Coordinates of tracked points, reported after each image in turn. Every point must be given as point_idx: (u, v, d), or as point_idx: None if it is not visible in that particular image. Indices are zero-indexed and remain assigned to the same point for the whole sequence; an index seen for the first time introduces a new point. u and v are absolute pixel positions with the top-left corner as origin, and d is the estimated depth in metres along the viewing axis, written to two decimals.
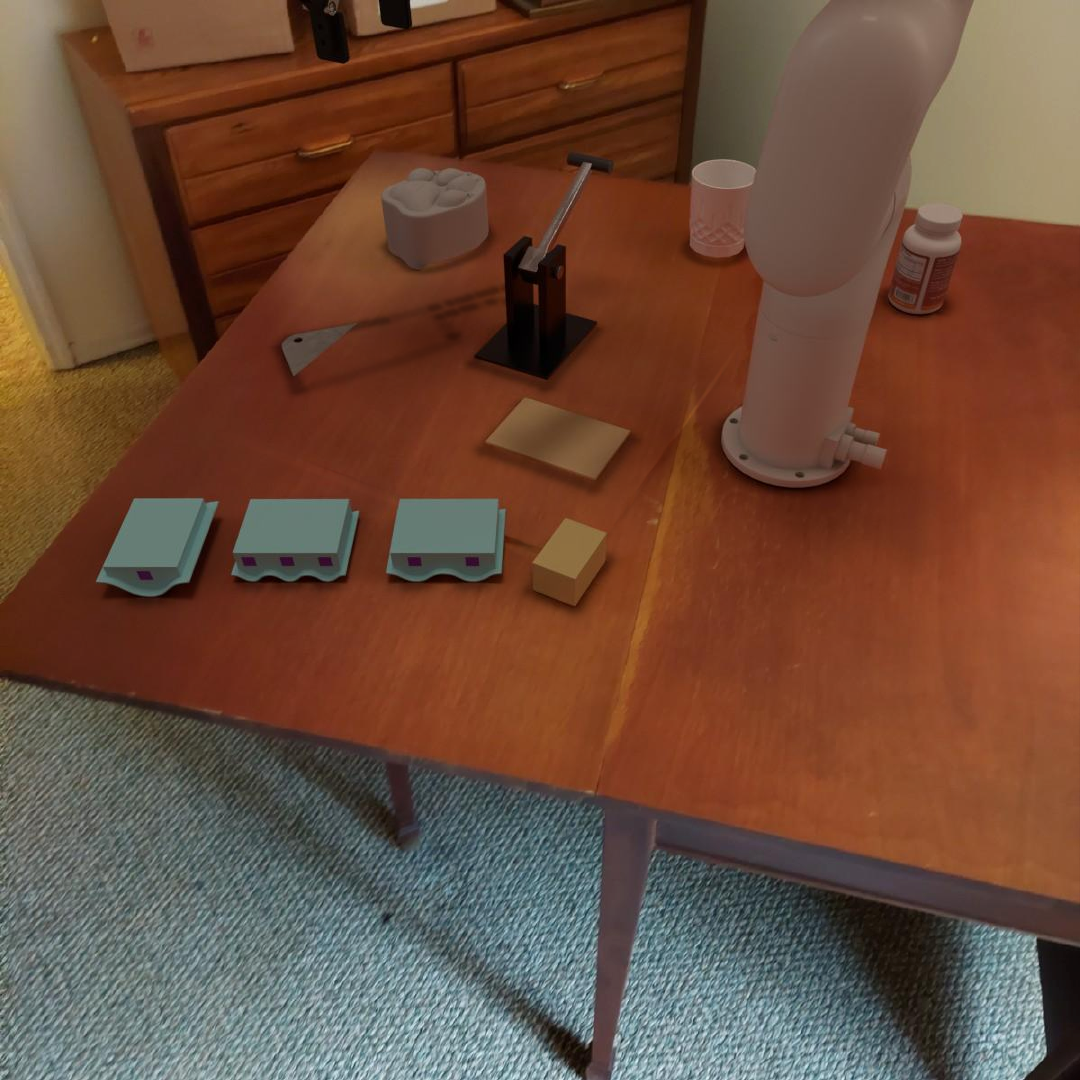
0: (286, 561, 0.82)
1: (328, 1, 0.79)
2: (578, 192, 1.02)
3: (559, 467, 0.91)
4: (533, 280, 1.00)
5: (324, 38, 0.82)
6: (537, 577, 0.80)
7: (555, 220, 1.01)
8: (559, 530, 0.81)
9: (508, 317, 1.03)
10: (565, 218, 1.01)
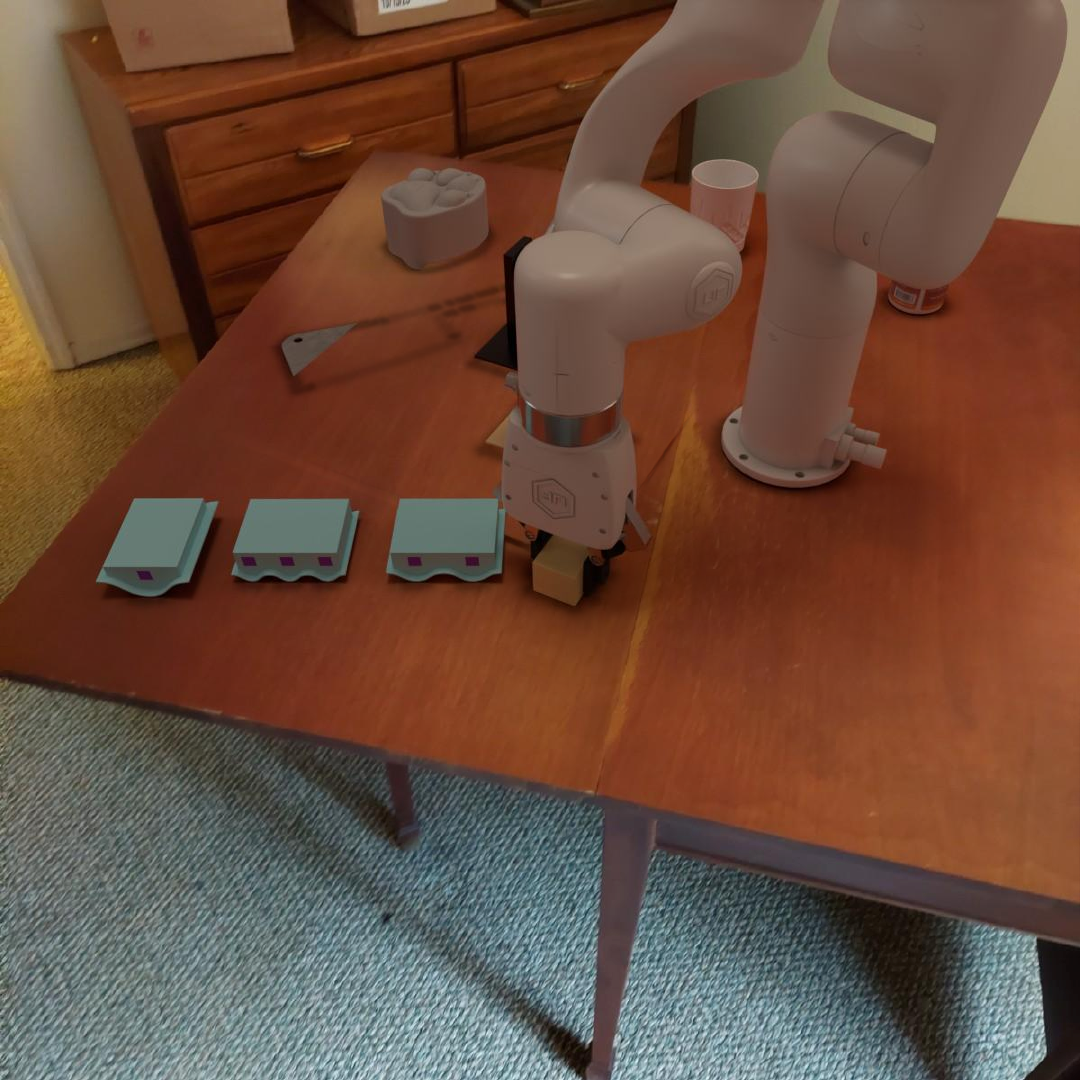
0: (286, 561, 0.82)
1: (524, 530, 0.79)
2: None
3: None
4: None
5: None
6: (537, 577, 0.80)
7: None
8: None
9: (508, 317, 1.03)
10: None
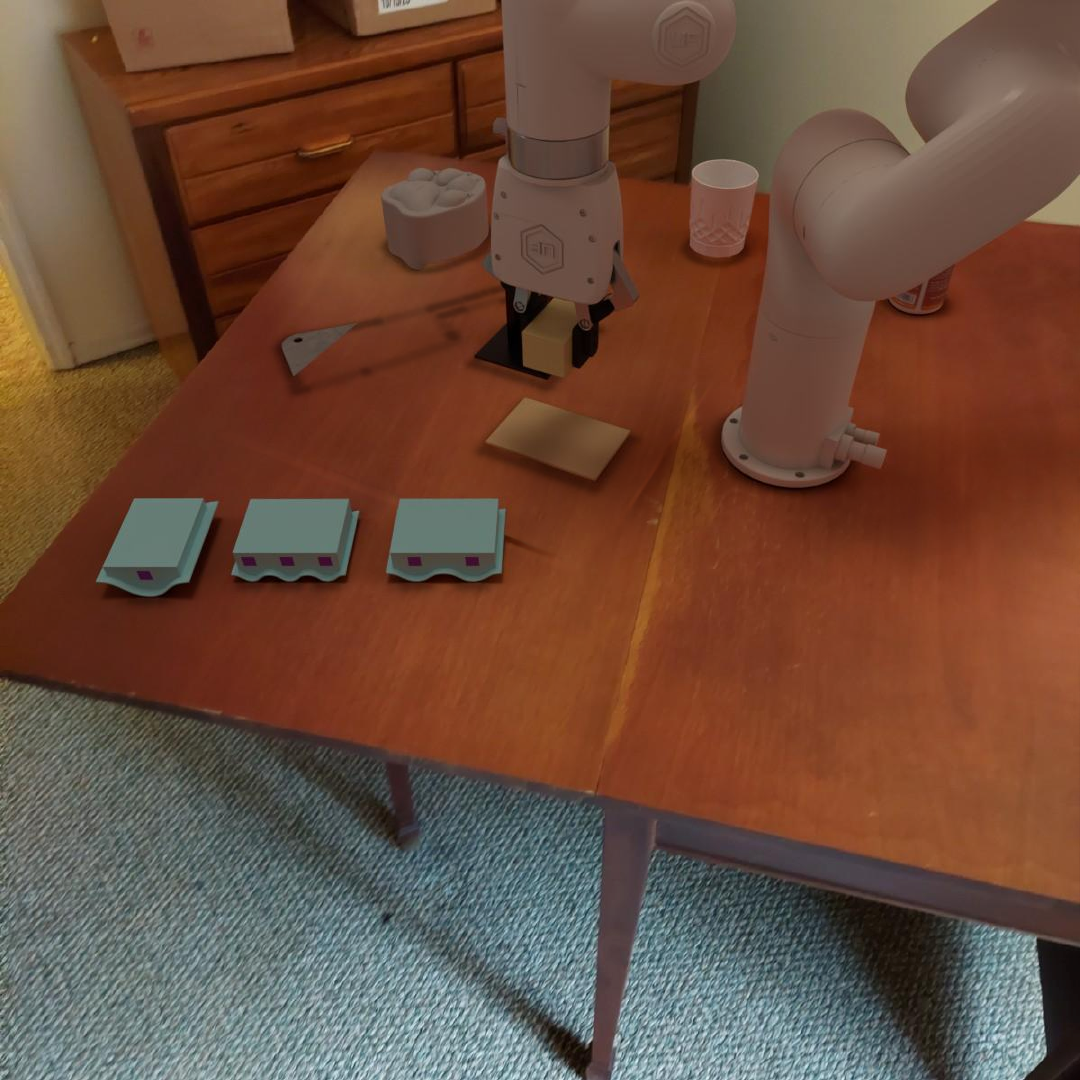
0: (286, 561, 0.82)
1: (514, 301, 0.81)
2: None
3: (559, 467, 0.91)
4: None
5: None
6: (527, 349, 0.81)
7: None
8: (548, 307, 0.83)
9: (508, 317, 1.03)
10: None
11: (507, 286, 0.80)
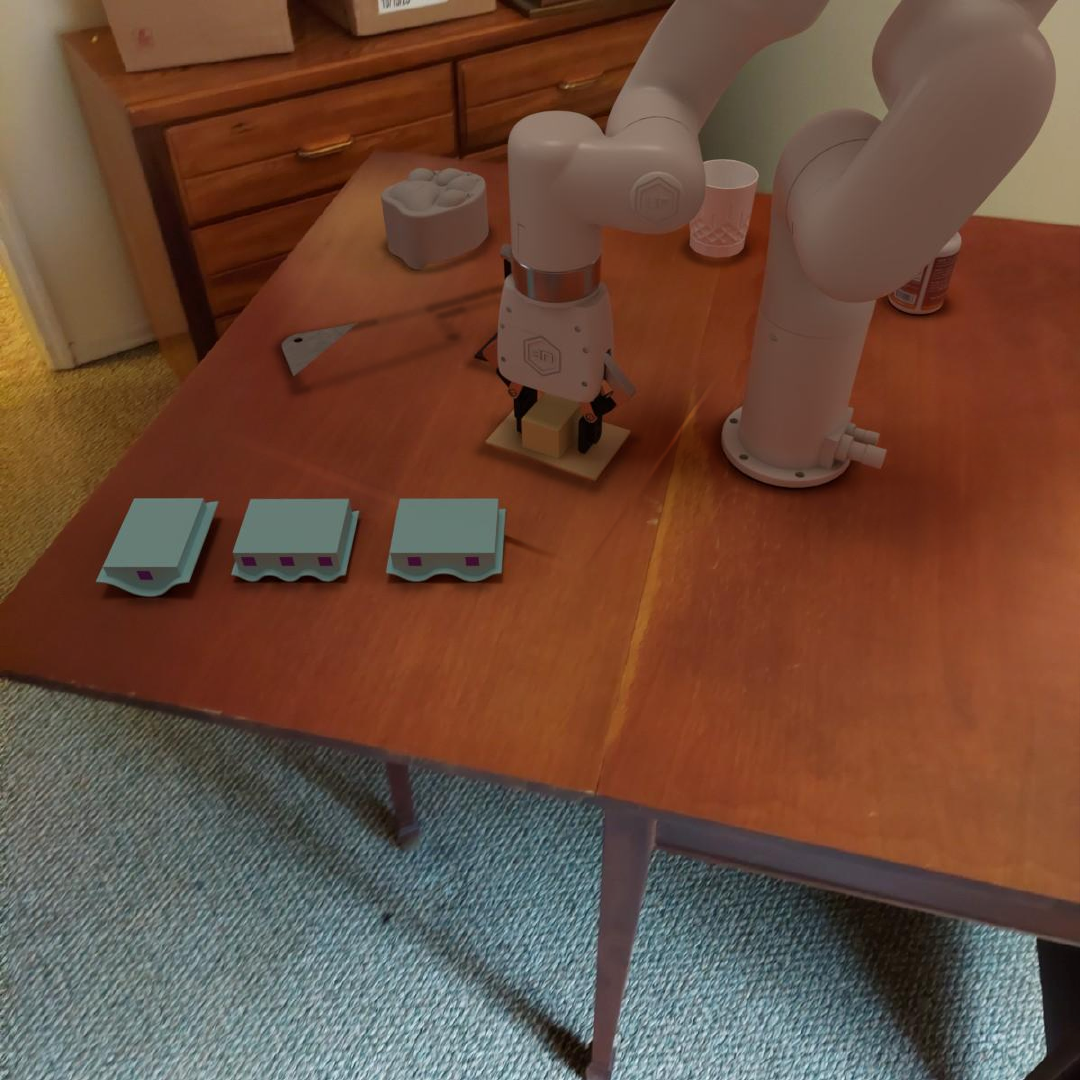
0: (286, 561, 0.82)
1: (508, 387, 0.91)
2: None
3: (559, 467, 0.91)
4: None
5: None
6: (526, 433, 0.91)
7: None
8: (545, 394, 0.93)
9: None
10: None
11: (502, 375, 0.91)
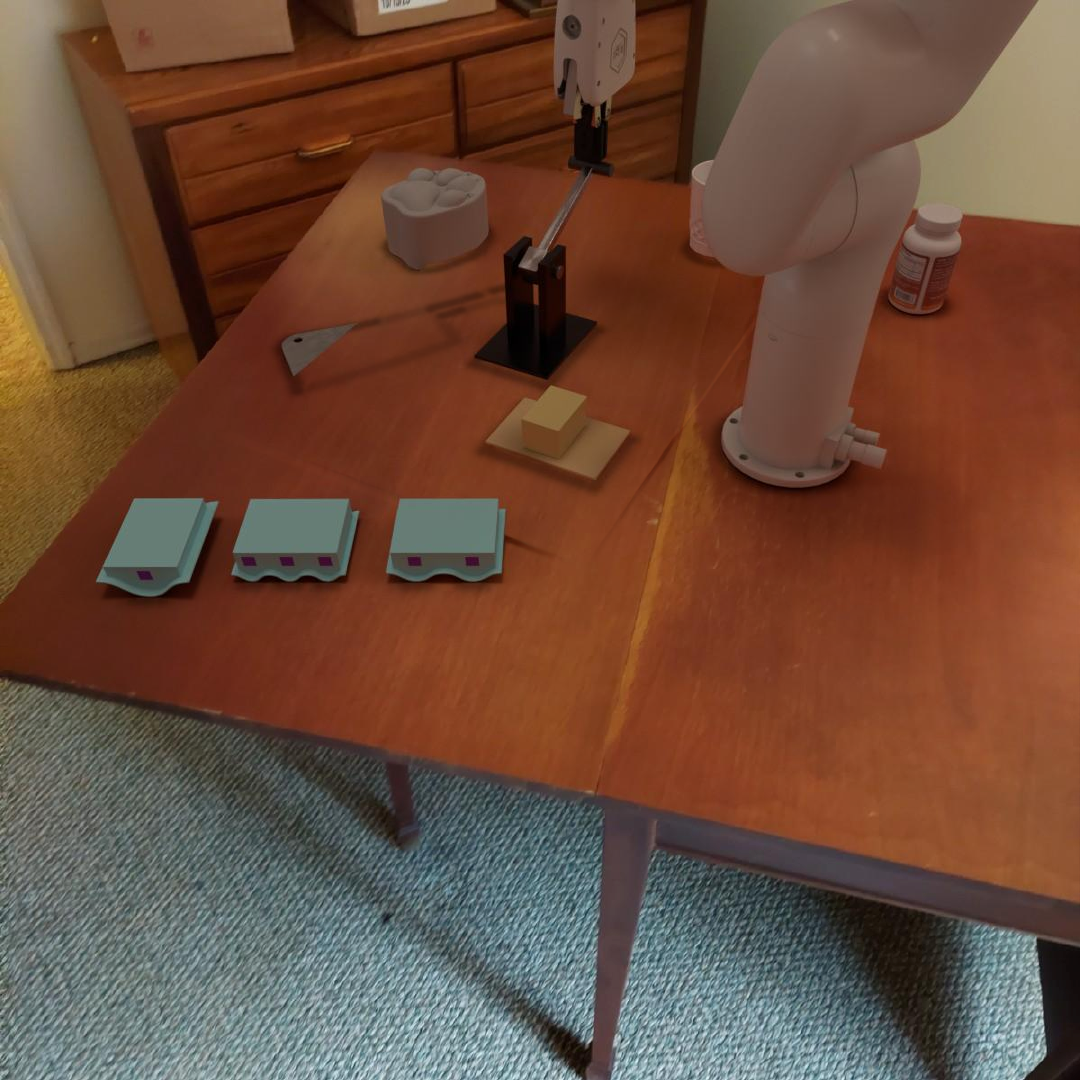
0: (286, 561, 0.82)
1: (595, 122, 0.98)
2: (579, 194, 1.02)
3: (559, 467, 0.91)
4: (533, 280, 1.00)
5: (585, 144, 1.01)
6: (526, 433, 0.91)
7: (555, 221, 1.01)
8: (545, 394, 0.93)
9: (508, 317, 1.03)
10: (565, 220, 1.01)
11: (588, 112, 0.97)
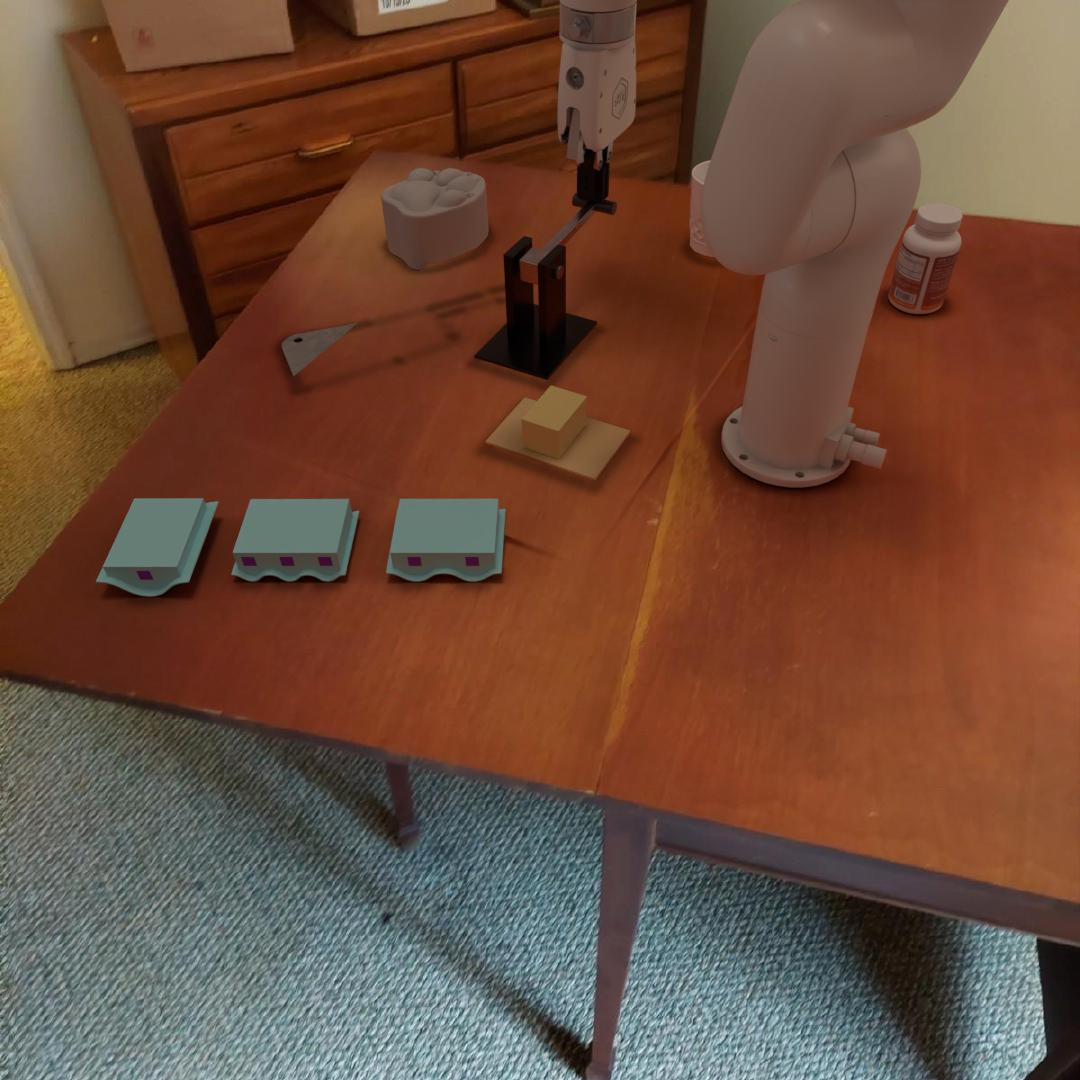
0: (286, 561, 0.82)
1: (597, 165, 1.02)
2: (582, 220, 1.05)
3: (559, 467, 0.91)
4: (531, 277, 0.99)
5: (588, 185, 1.05)
6: (526, 433, 0.91)
7: (558, 235, 1.02)
8: (545, 394, 0.93)
9: (508, 317, 1.03)
10: (567, 237, 1.03)
11: (591, 156, 1.01)
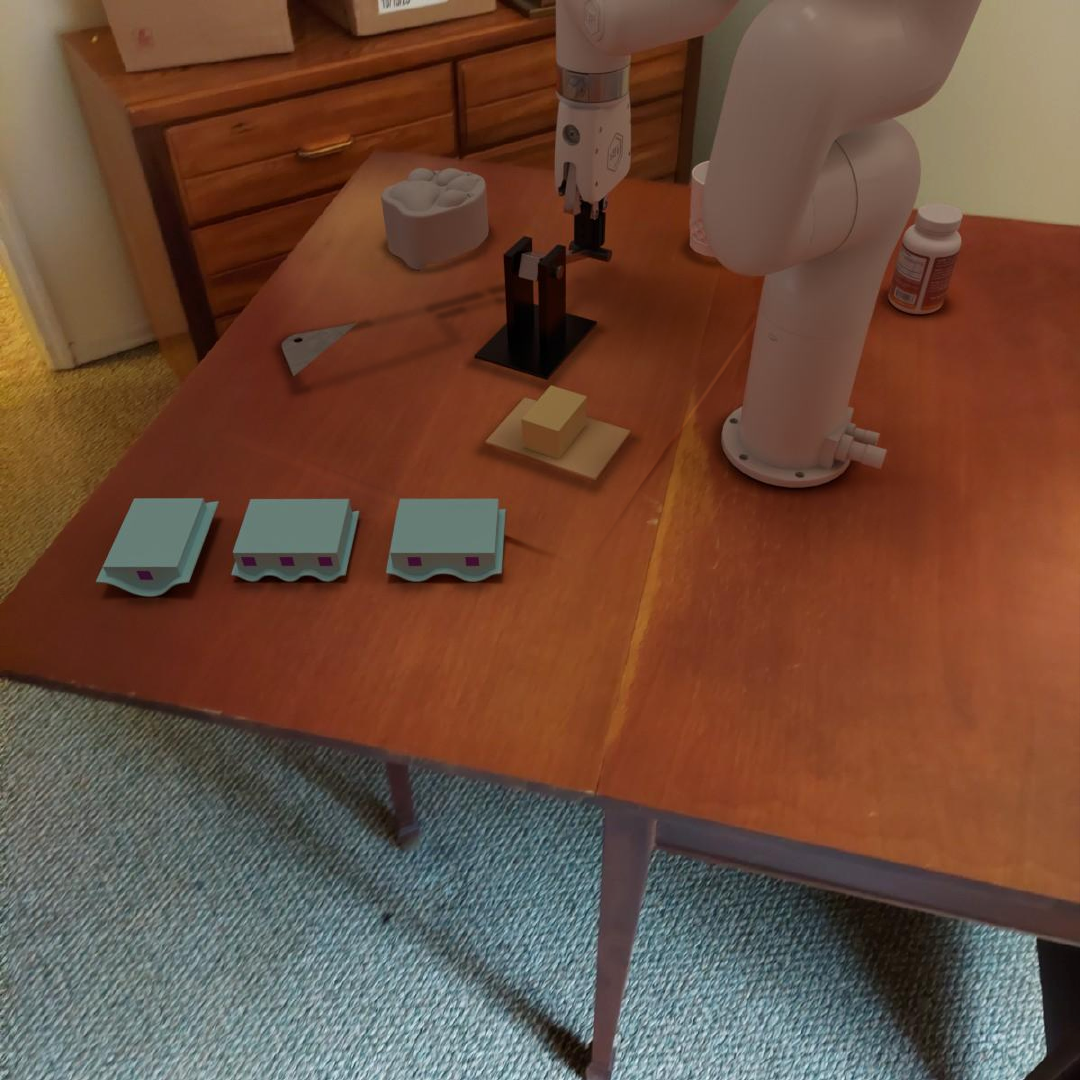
0: (286, 561, 0.82)
1: (593, 215, 1.05)
2: (579, 254, 1.07)
3: (559, 467, 0.91)
4: (530, 273, 0.99)
5: (584, 234, 1.08)
6: (526, 433, 0.91)
7: None
8: (545, 394, 0.93)
9: (508, 317, 1.03)
10: (566, 259, 1.05)
11: (587, 207, 1.04)
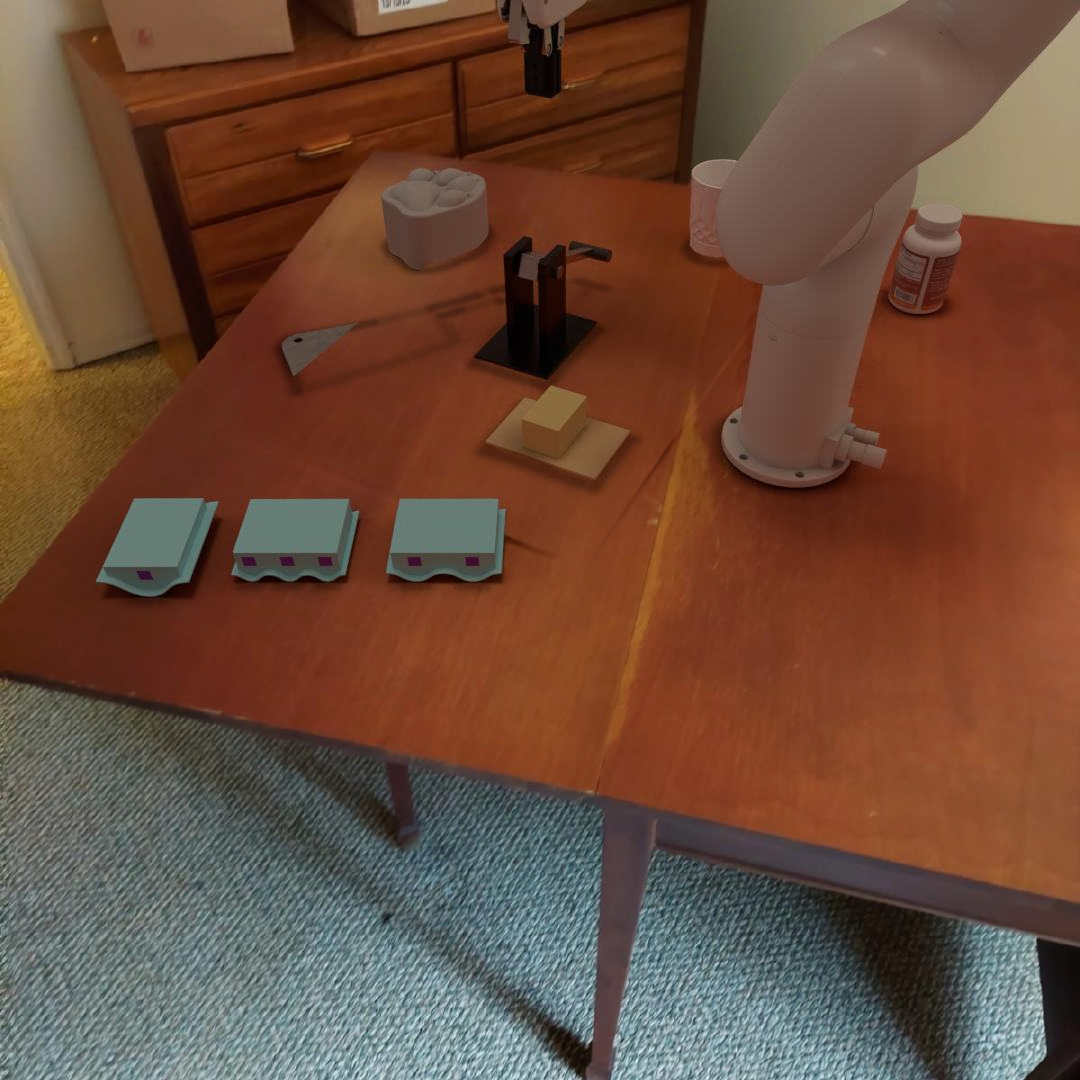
0: (286, 561, 0.82)
1: (545, 50, 0.88)
2: (579, 254, 1.07)
3: (559, 467, 0.91)
4: (530, 273, 0.99)
5: (536, 76, 0.91)
6: (526, 433, 0.91)
7: None
8: (545, 394, 0.93)
9: (508, 317, 1.03)
10: (566, 259, 1.05)
11: (537, 37, 0.87)
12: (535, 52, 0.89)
